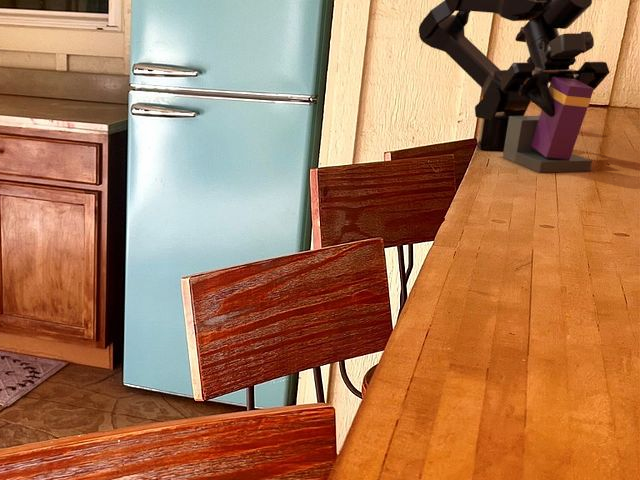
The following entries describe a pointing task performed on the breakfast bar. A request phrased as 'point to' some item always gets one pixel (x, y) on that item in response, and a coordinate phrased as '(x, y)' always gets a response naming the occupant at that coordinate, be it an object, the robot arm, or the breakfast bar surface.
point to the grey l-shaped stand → (527, 156)
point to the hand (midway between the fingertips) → (565, 114)
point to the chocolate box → (562, 118)
